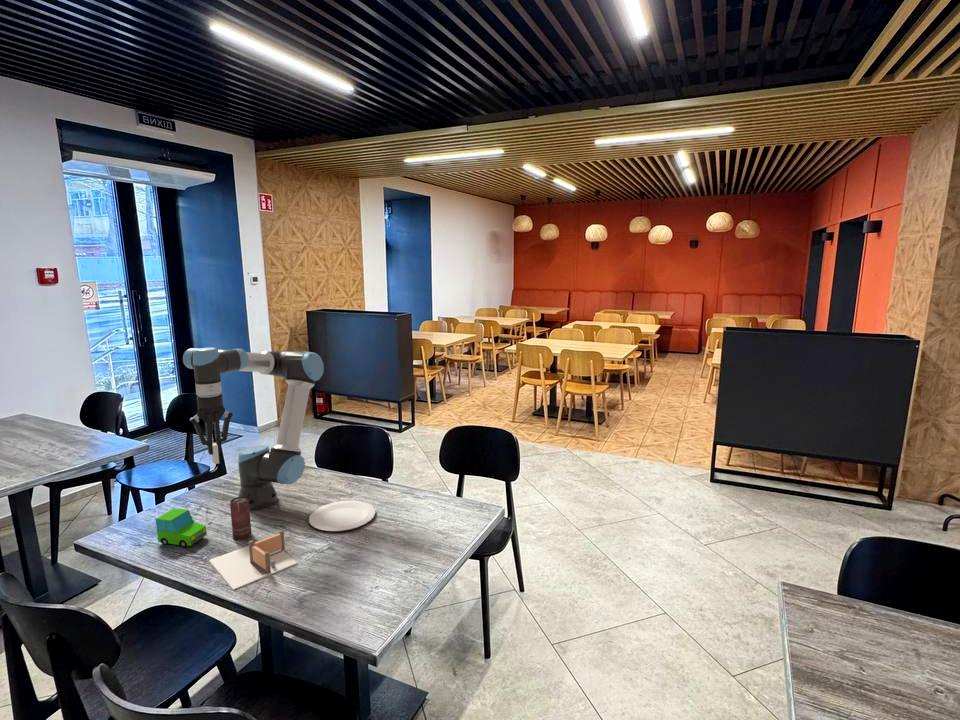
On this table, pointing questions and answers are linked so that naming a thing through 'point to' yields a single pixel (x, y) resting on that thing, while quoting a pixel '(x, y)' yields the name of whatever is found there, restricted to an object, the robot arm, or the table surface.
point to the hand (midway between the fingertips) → (215, 462)
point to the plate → (342, 516)
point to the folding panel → (261, 558)
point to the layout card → (248, 566)
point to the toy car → (179, 528)
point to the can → (240, 518)
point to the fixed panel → (269, 544)
